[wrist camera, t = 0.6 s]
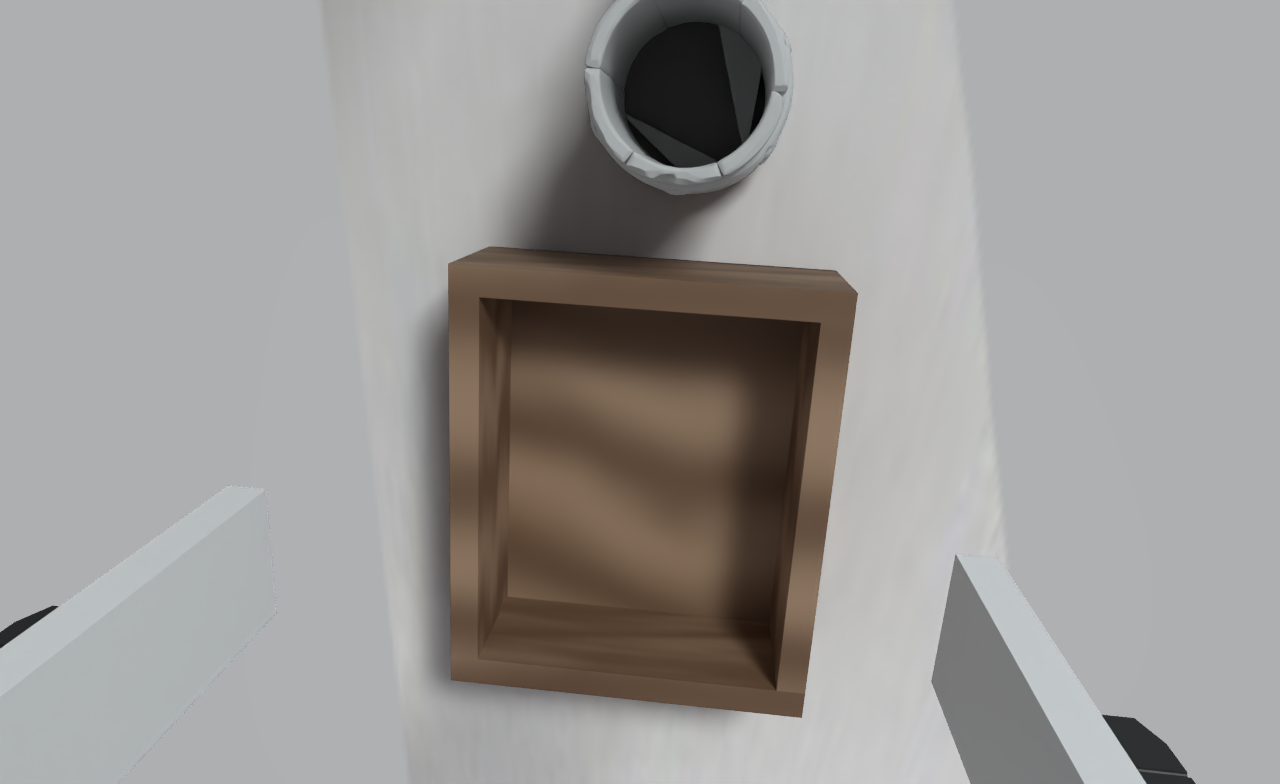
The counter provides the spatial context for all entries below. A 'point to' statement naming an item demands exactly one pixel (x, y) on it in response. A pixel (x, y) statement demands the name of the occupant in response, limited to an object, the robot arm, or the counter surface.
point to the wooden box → (641, 473)
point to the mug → (748, 49)
